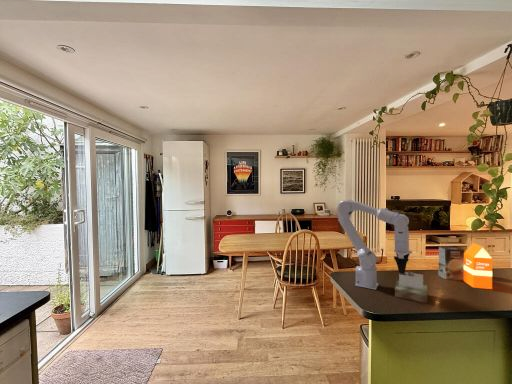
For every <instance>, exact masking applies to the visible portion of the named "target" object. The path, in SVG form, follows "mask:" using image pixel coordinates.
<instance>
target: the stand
mask: <svg viewBox="0 0 512 384" xmlns="http://www.w3.org/2000/svg"><path fill="white" fill-rule="evenodd" d="M394 297H395V298H399V299H404V300H405V299H406V300H410V301H415V302H419V303H424V304H428V285H424V284H423V291H421V290H416V289H410V288H405V287H399V280H396V283H395V286H394Z"/></svg>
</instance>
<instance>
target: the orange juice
mask: <svg viewBox="0 0 512 384" xmlns="http://www.w3.org/2000/svg"><path fill="white" fill-rule="evenodd" d="M463 282H464V283H466V284H467V285H469V286H470V287H472V288H475V289H476V288H477V289H487V290H493V258H492V257H491V255H490V254H489V252H487V249H485V248H484V247H483V246H482V245H479V244H476V243H474V242H472V244H470V246H469V247H468V248H467V249H466V250H465V251H464V280H463Z"/></svg>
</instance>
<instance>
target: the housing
mask: <svg viewBox="0 0 512 384" xmlns="http://www.w3.org/2000/svg"><path fill="white" fill-rule="evenodd" d="M398 273H399V272H398ZM398 281H399V287H405V288H410V289H416V290H421V291H423V285H424V274H420V273H415V272H413V271H405V273H399V274H398Z"/></svg>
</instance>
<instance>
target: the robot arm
mask: <svg viewBox="0 0 512 384" xmlns="http://www.w3.org/2000/svg"><path fill="white" fill-rule="evenodd" d="M336 210H337V219H338V222H339V224H340V226H341V227H342V229H343V230H344V233H345V234H346V236H347V237H348V239H349V240H350V243H352V246H353V247H354V249H355V251H356V253H357V258H358V260H359V265H356V268H355V284H354V285H355V287H361V288H366V289H371V290H377V288H378V286H379V283H378V282H377V281H378V280H377V276H378V275H377V271H378V270H377V267H378V266H376V264H377V263H378V257H377V255H376V254H375V253H374V252H372V250H371V249H370V247H367V245H366V243H365V242H364V240H363V238H362V237H361V236H360V235H361V234H360V233H359V232H358V231H357V229H356V228H355V226H354V224H353V222H352V221H351V217H352V214H353V212H357V211H360V212H364V213H366V214H370V215H372V216H375V217H376V218H377V220H379V221H382V222H384V223H388V224H390V225H393V227H394V231H393V233H394V234H393V235H394V253H395V256H394V257H393V259H394V261H395V263H396V266H397V270H398V273H405V272H406V268H407V264H408V262H409V259H410V258H409V256H410V254H413V251H412V250H410V238H409V237H410V235H409V234H410V232H409V226H408V225H409V223H410V220H409V217H408V216H407V215H405V214H403V213H400V212H398V211H397V212H396V211H392V210H389V208H387V207H385V208H379V209H378V208H375V207H373V206H371V205H368V204H365V203H362V202H360V201H357V200H353V199H347V200H341V201H340V202H338V205H337V207H336Z"/></svg>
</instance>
